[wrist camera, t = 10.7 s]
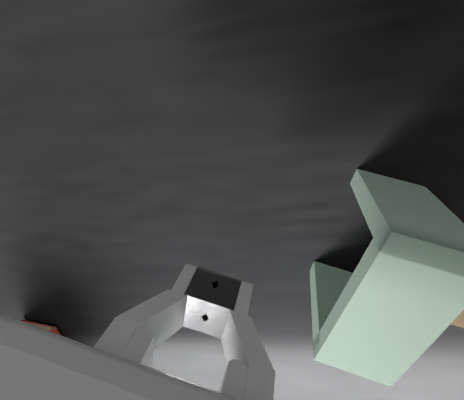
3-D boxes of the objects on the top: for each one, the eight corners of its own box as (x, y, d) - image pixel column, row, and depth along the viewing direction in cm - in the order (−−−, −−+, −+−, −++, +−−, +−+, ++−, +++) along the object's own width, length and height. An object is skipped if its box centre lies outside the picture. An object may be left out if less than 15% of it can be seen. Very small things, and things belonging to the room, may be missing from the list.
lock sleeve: (362, 287, 20) (391, 386, 13) (309, 270, 20) (313, 360, 14) (425, 186, 15) (506, 264, 9) (356, 168, 16) (391, 231, 10)
